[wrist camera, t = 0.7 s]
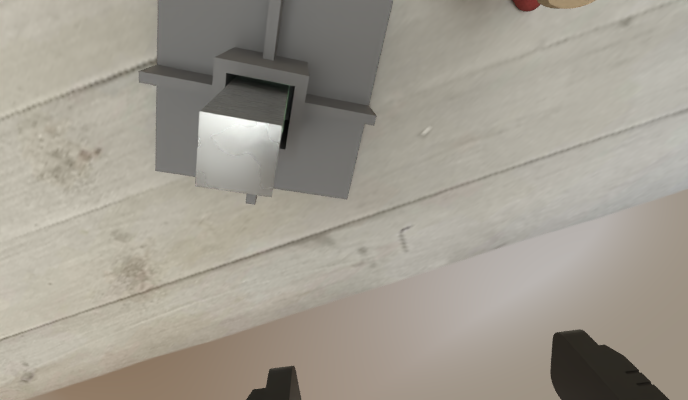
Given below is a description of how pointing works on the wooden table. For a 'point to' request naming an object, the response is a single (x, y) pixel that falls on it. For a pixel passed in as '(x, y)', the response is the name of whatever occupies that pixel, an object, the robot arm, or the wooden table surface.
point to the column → (242, 136)
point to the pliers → (526, 4)
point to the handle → (564, 3)
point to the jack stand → (272, 79)
